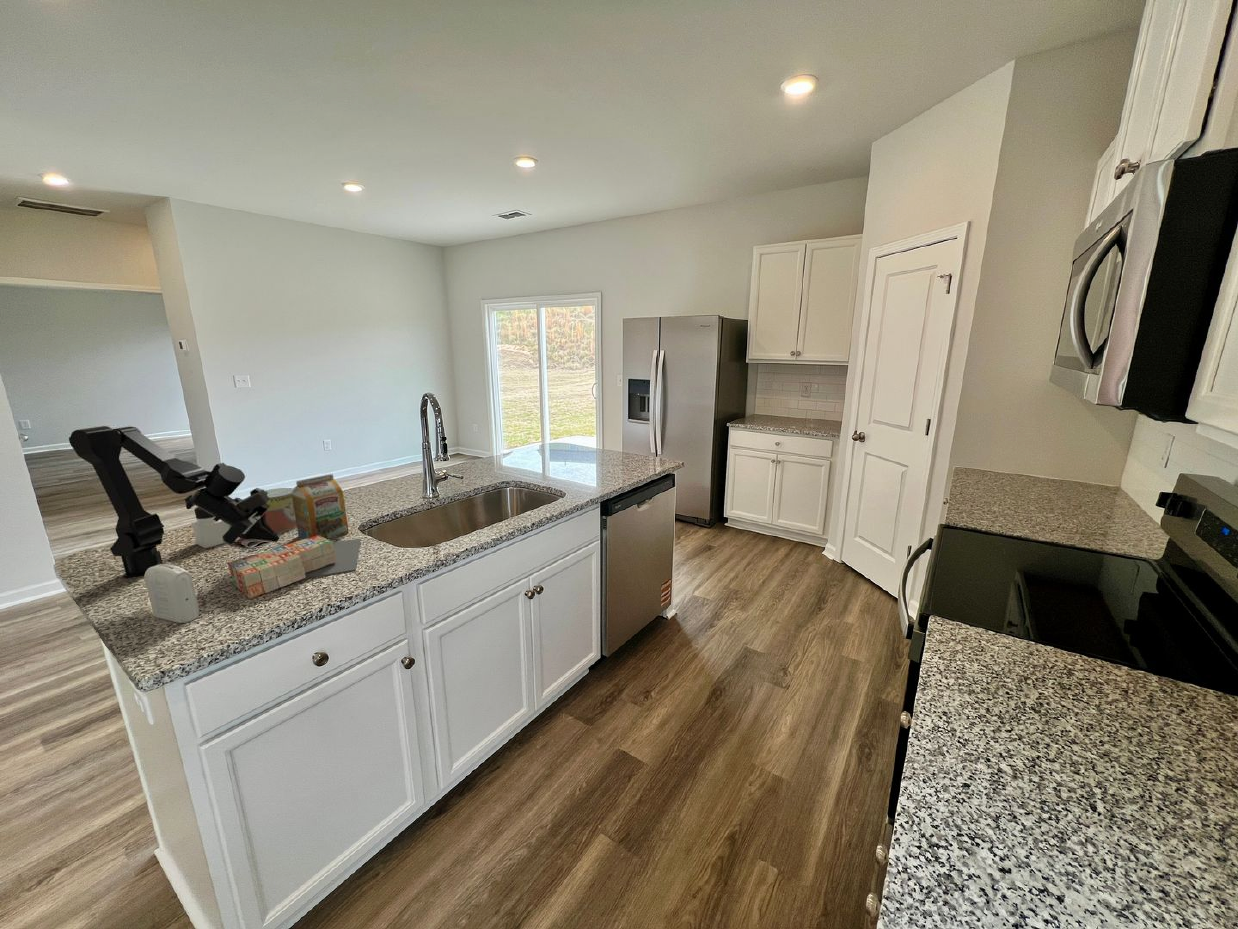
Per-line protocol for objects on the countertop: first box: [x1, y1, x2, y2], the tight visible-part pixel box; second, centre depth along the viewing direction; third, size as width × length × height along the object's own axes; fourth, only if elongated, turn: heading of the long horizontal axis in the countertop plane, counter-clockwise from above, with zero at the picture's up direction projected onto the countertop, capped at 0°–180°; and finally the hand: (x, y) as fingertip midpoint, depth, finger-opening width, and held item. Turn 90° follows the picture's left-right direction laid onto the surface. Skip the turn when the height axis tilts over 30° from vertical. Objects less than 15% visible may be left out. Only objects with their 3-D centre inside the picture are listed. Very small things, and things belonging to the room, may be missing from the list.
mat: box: [300, 538, 361, 581], centre depth 139 cm, size 16×24×1 cm, turn 24°
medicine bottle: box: [191, 506, 231, 549], centre depth 150 cm, size 7×7×12 cm
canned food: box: [261, 487, 297, 534], centre depth 163 cm, size 11×11×12 cm
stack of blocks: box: [227, 535, 337, 599], centre depth 128 cm, size 21×6×12 cm
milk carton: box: [292, 473, 350, 540], centre depth 155 cm, size 11×11×19 cm
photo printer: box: [143, 563, 200, 624], centre depth 108 cm, size 10×4×12 cm, turn 72°
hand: (278, 540), depth 133 cm, fingers closed
